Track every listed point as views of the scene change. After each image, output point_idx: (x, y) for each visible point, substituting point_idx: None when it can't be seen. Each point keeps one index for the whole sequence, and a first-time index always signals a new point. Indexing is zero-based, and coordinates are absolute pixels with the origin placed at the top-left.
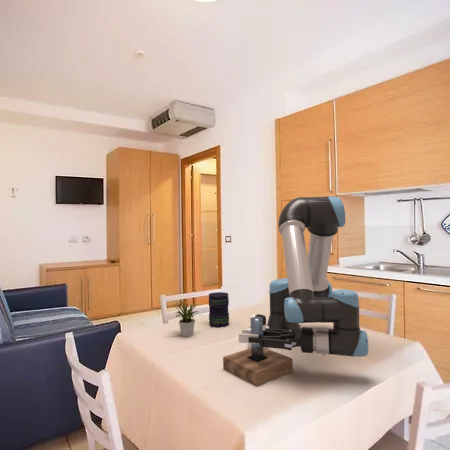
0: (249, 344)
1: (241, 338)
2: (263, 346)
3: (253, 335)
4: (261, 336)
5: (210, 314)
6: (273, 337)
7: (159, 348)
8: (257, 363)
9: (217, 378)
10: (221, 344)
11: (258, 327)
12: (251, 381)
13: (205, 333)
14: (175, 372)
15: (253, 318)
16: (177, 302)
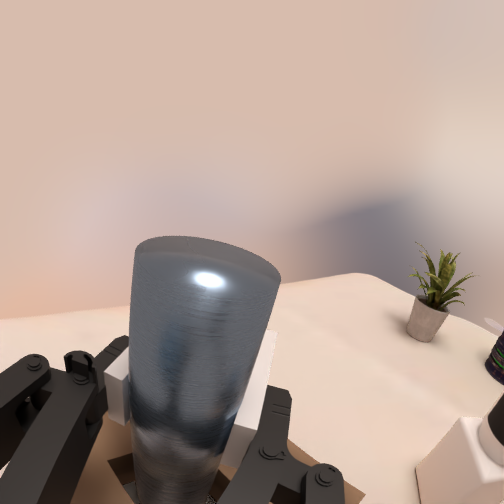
0: (424, 463)
1: None
2: (26, 405)
3: (127, 351)
4: (75, 382)
5: (500, 336)
6: (14, 458)
7: (325, 301)
8: (91, 456)
9: None
10: (405, 395)
11: (129, 327)
12: None
13: (448, 359)
14: None
15: (209, 249)
16: (444, 257)
